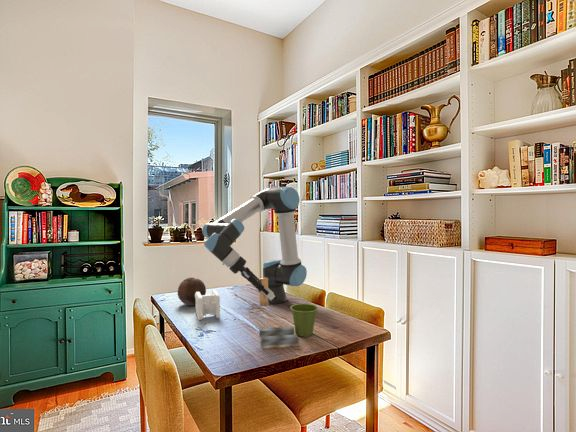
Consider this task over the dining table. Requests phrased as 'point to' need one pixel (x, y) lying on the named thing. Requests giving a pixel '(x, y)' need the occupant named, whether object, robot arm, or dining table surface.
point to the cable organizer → (207, 304)
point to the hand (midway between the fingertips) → (272, 296)
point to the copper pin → (263, 298)
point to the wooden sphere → (190, 290)
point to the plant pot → (304, 318)
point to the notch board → (277, 337)
